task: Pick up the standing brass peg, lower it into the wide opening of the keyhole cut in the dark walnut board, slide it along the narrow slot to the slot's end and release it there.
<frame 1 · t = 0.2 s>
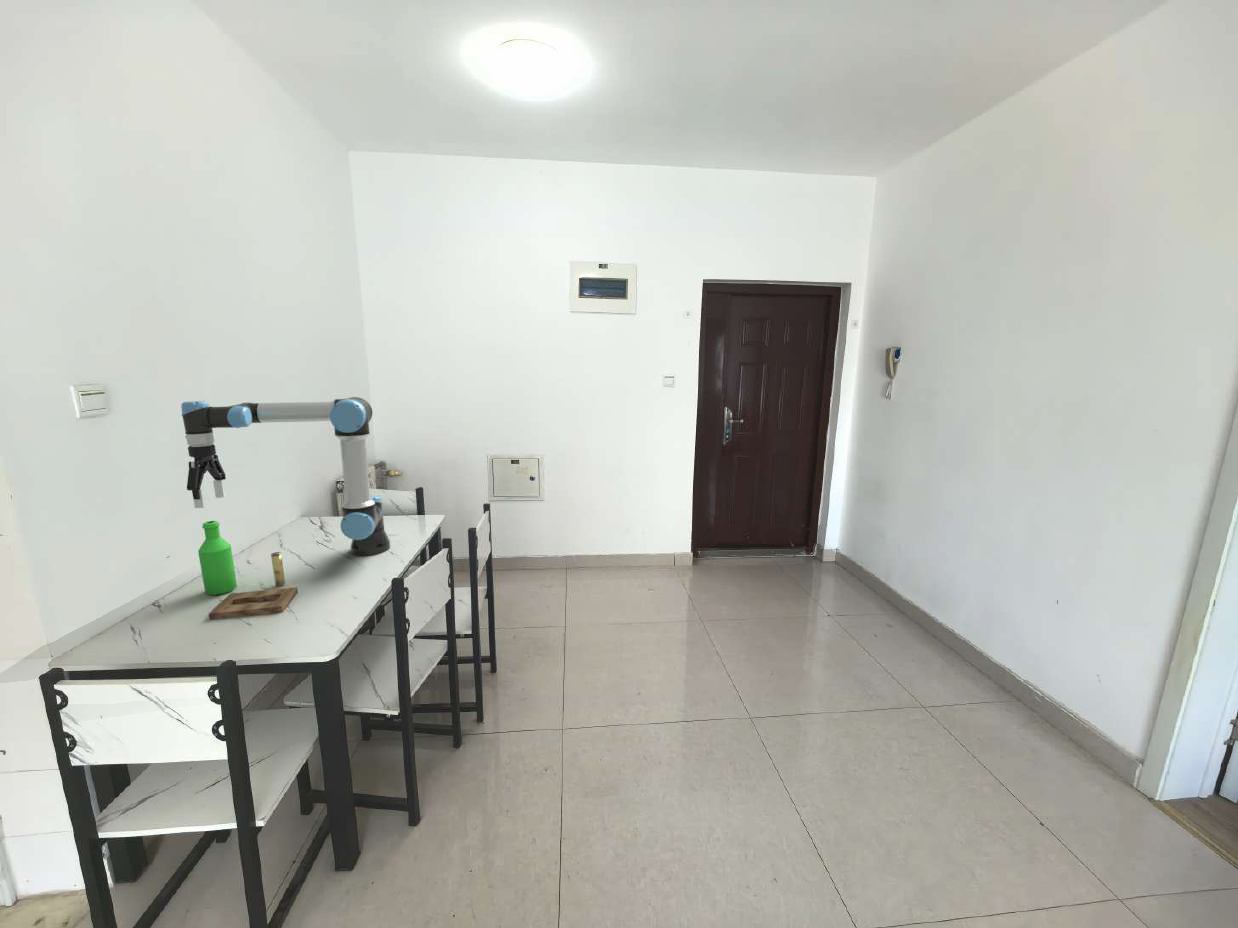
hand: (210, 502, 183), 28 cm above the table, fingers open, 13 cm apart
bottle: (221, 591, 175), on the table
keyhole board: (256, 605, 165), on the table
peg: (280, 585, 180), on the table
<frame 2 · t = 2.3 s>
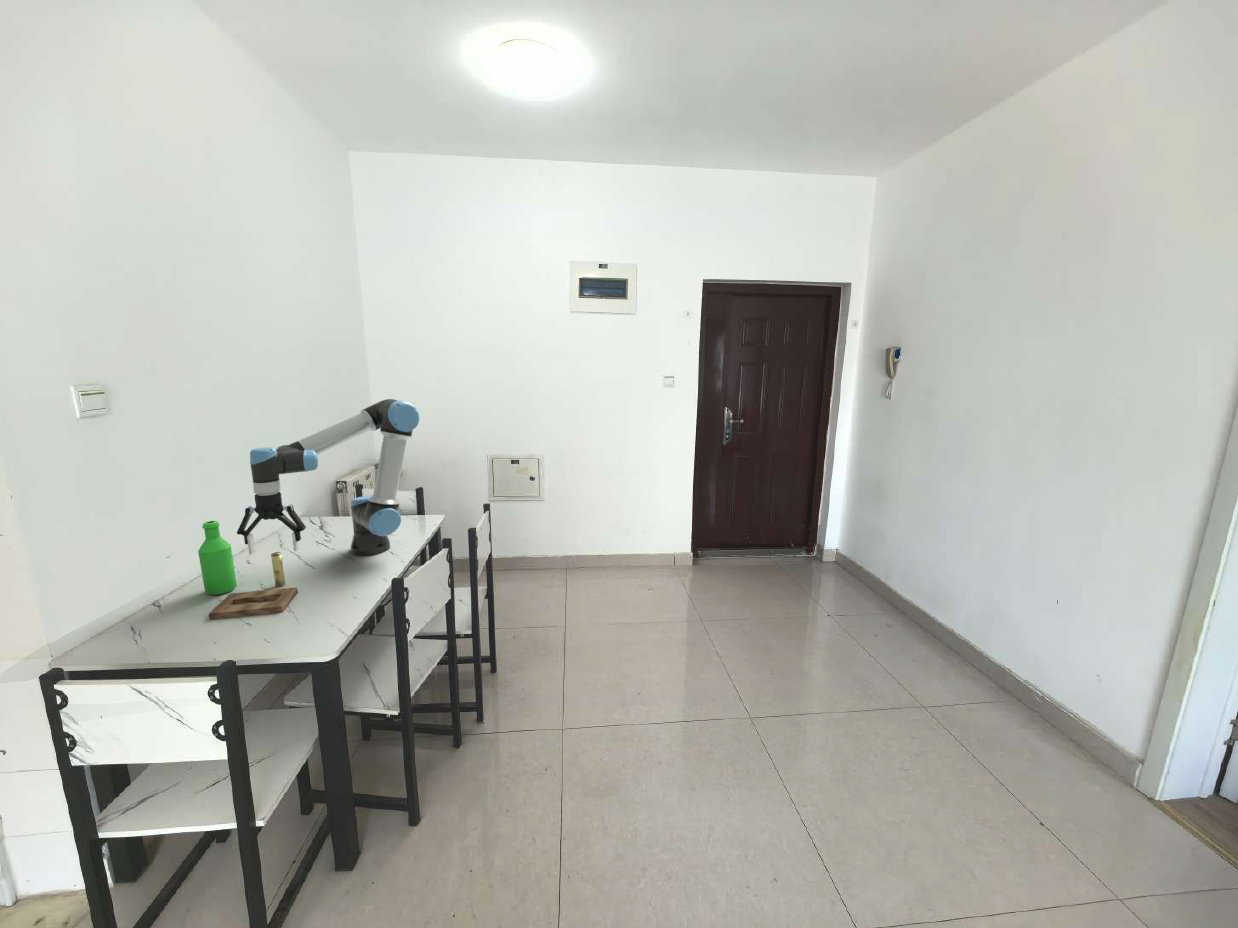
hand: (274, 551, 177), 13 cm above the table, fingers open, 13 cm apart
nothing on the table moved.
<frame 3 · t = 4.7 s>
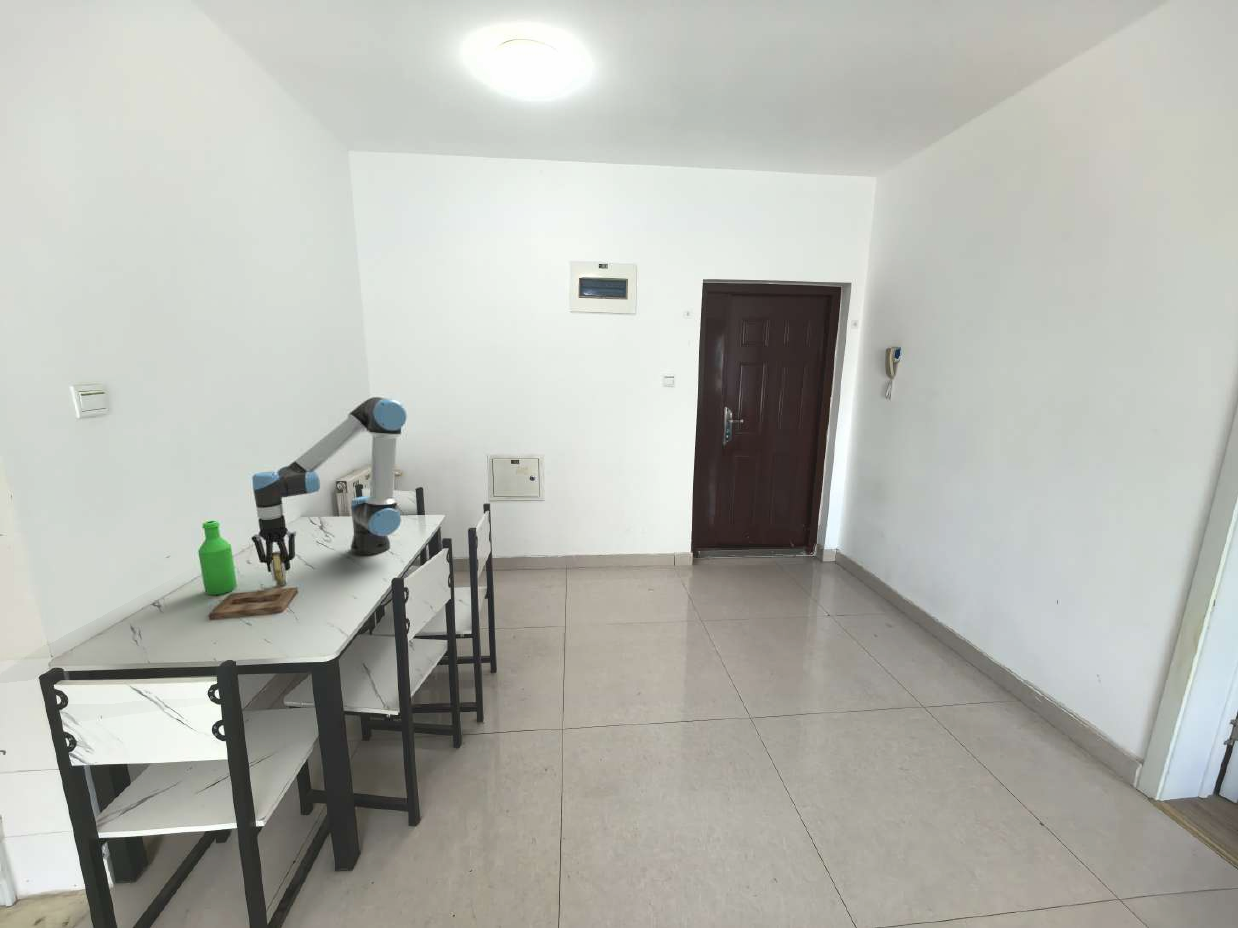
hand: (280, 578, 180), 2 cm above the table, fingers closed on peg, 3 cm apart
peg: (281, 584, 180), on the table, touching gripper
everything else where it was.
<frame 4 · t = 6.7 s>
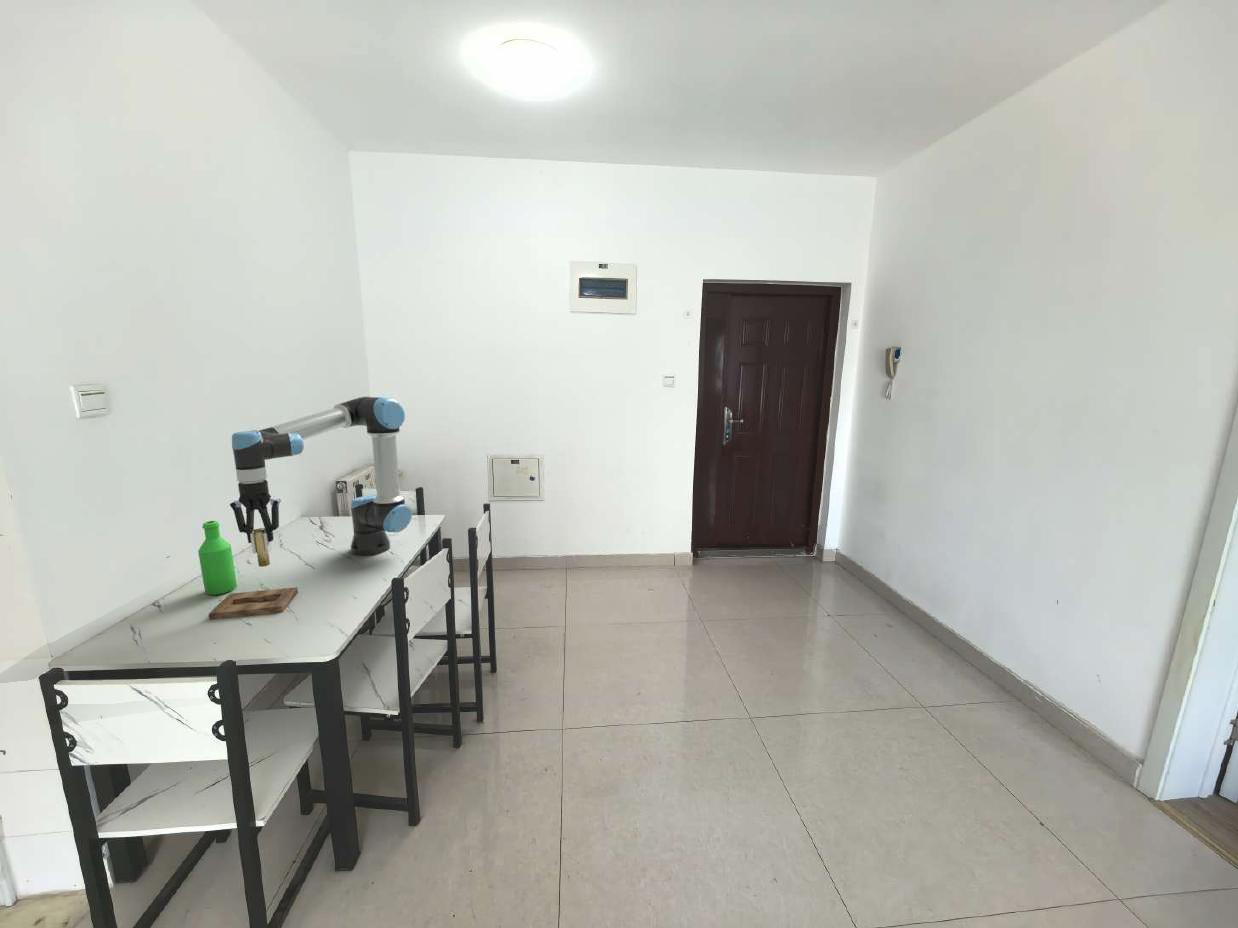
hand: (262, 551, 162), 18 cm above the table, fingers closed on peg, 3 cm apart
peg: (264, 564, 163), point 14 cm above the table, touching gripper
everything else where it was.
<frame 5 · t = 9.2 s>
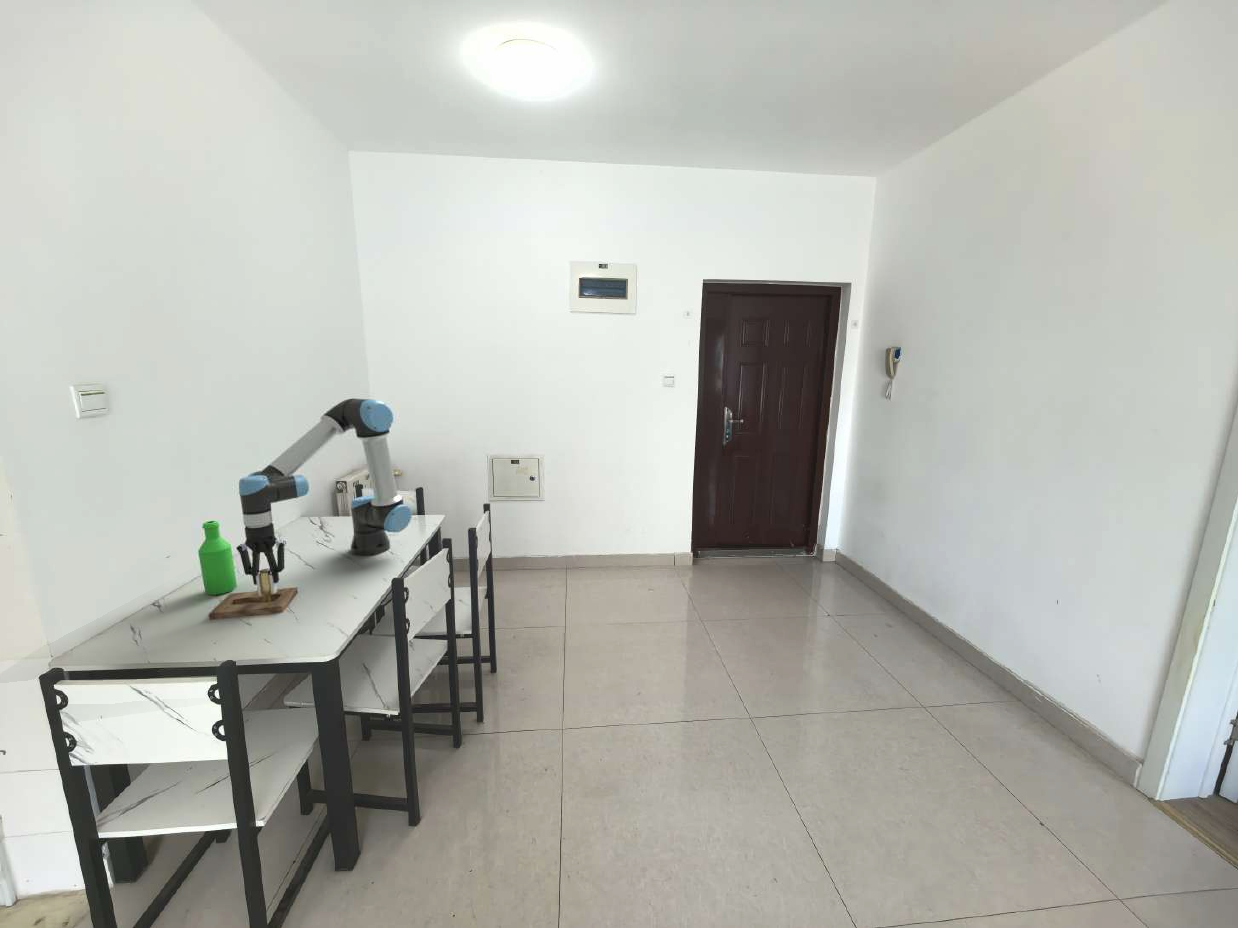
hand: (267, 592, 165), 4 cm above the table, fingers closed on peg, 3 cm apart
peg: (269, 604, 166), resting in keyhole board, touching gripper
everything else where it was.
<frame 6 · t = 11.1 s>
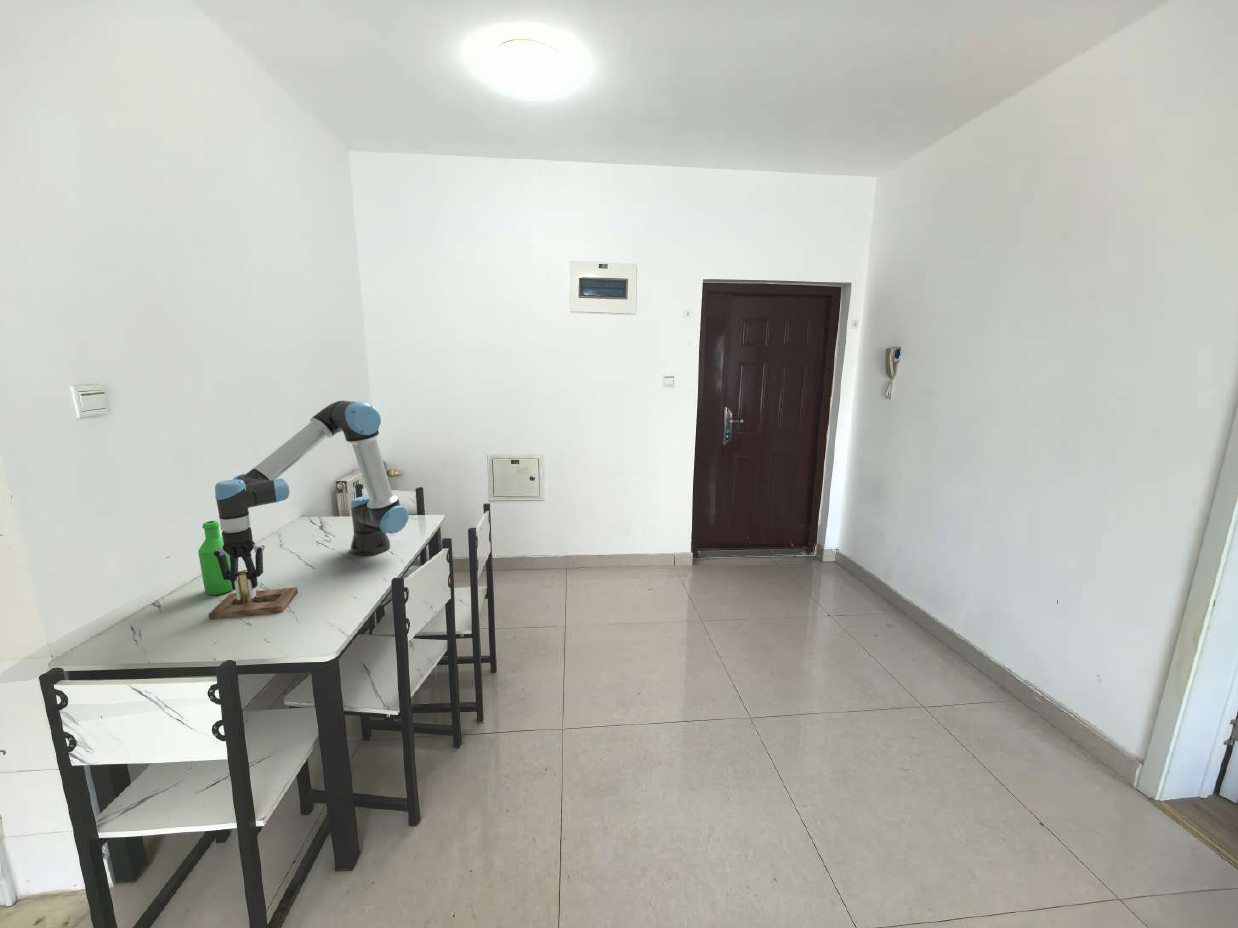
hand: (246, 597, 164), 3 cm above the table, fingers closed on peg, 3 cm apart
peg: (248, 606, 165), resting in keyhole board, touching gripper
everything else where it was.
when the fingers open (3 cm above the table, at t = 12.6 s): peg stays where it is, resting in keyhole board.
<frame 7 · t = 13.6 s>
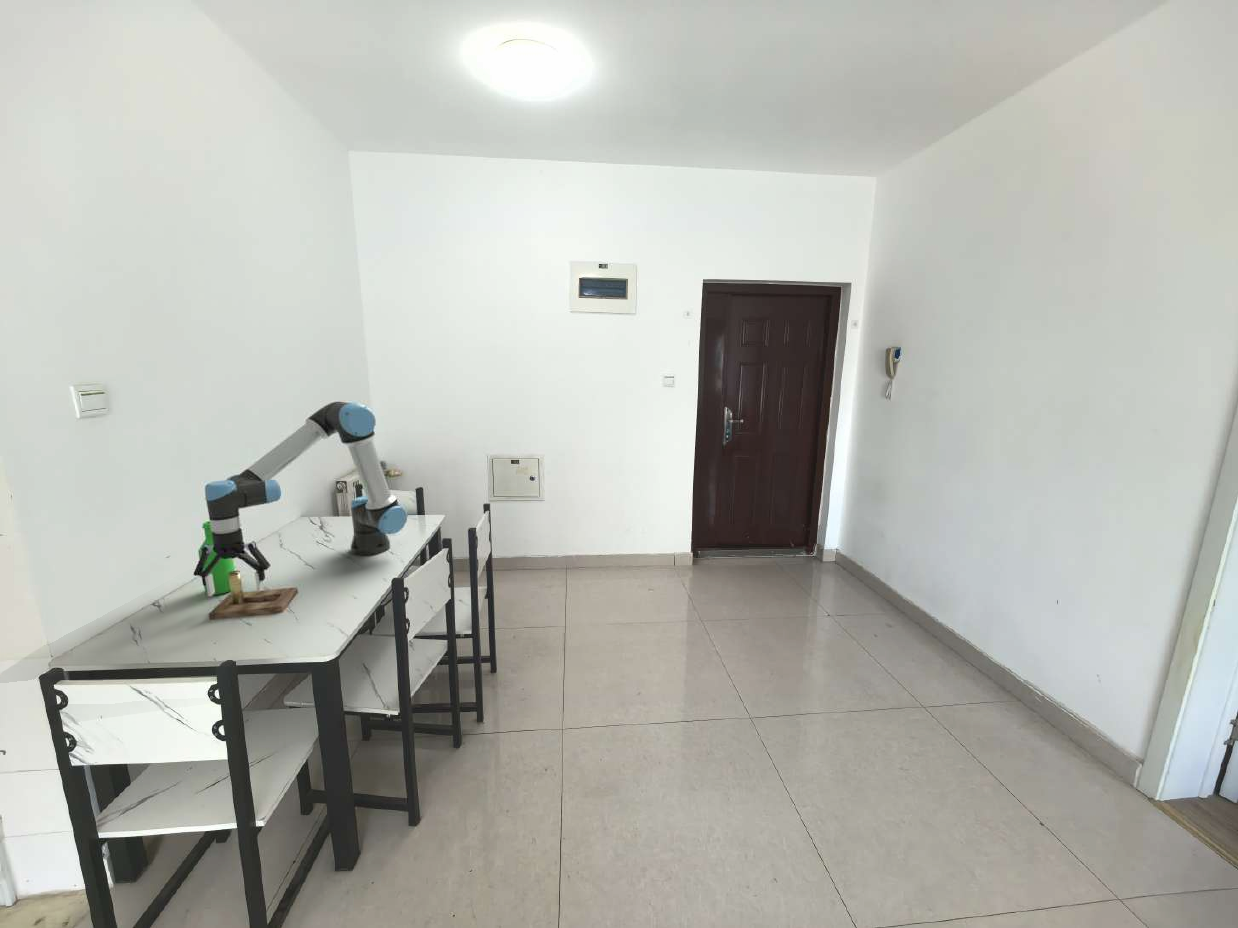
hand: (236, 592, 163), 5 cm above the table, fingers open, 13 cm apart
peg: (239, 606, 164), resting in keyhole board
everything else where it was.
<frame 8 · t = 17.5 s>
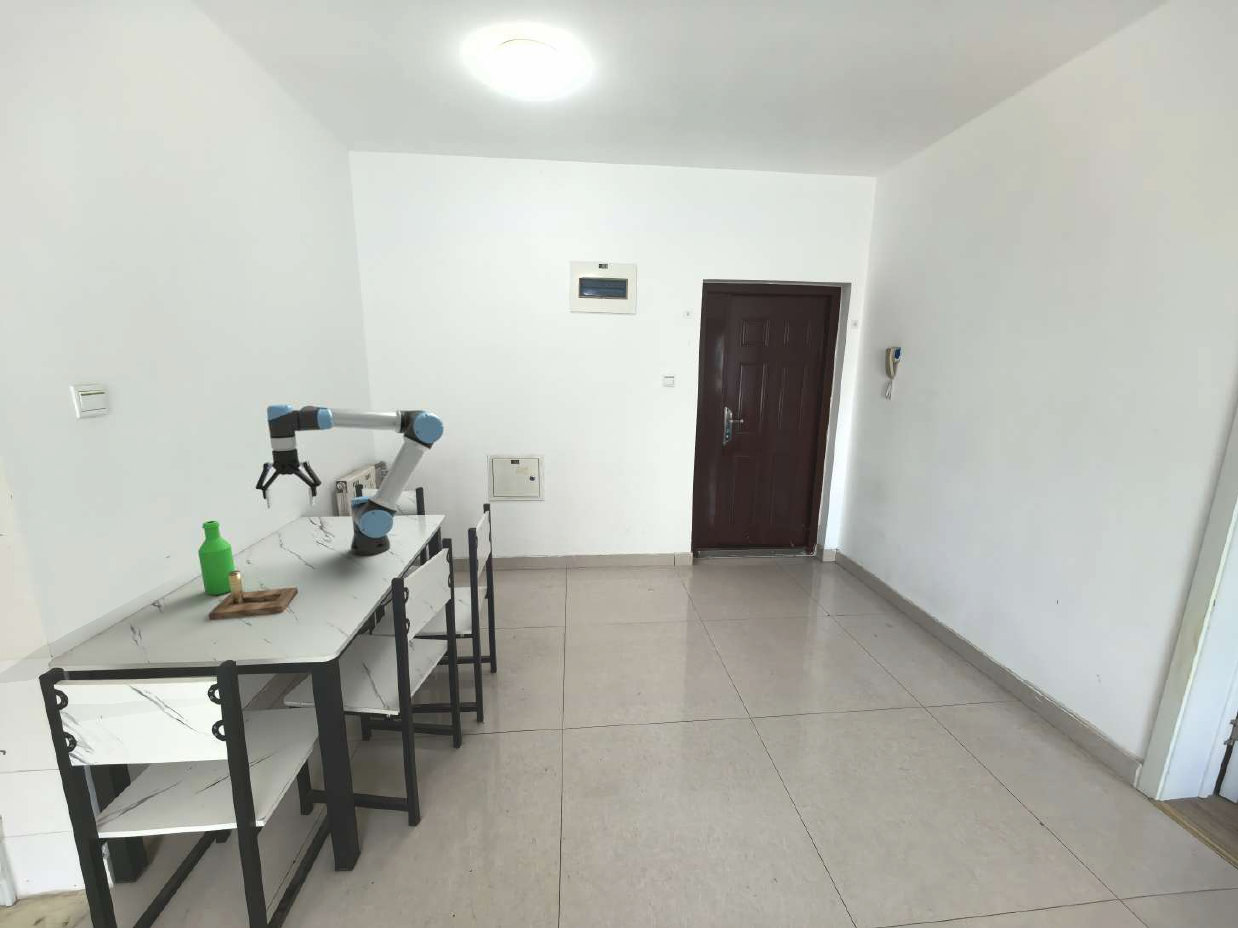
hand: (291, 506, 183), 27 cm above the table, fingers open, 13 cm apart
nothing on the table moved.
at the end: peg 0.2 cm from the target spot on the keyhole board, point 0.0 cm above the keyhole board's base; peg tilted 0°; the gripper is holding nothing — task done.
